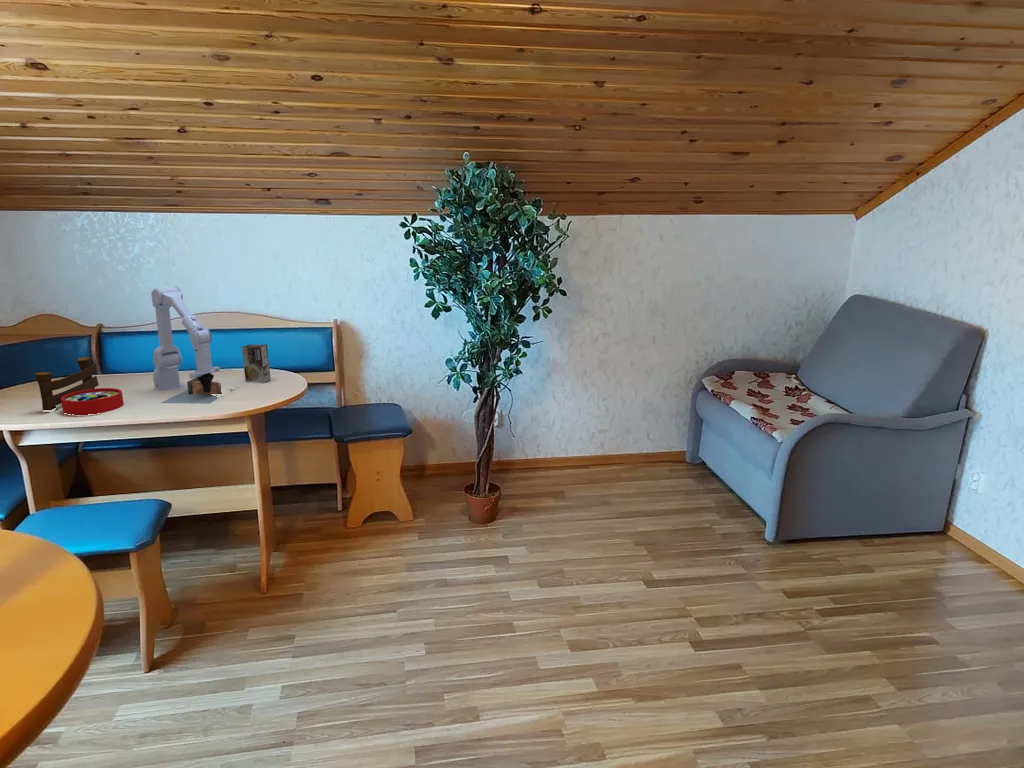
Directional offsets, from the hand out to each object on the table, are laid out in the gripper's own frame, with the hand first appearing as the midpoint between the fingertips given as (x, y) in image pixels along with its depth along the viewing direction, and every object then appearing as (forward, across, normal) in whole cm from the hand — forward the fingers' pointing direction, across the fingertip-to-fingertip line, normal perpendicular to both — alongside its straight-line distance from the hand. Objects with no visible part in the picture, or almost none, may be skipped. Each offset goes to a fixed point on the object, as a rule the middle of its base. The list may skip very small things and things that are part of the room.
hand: (207, 392), depth 277 cm
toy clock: (+2, -28, +29) cm, 40 cm away
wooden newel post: (+1, +2, +2) cm, 3 cm away
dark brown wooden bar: (+1, +5, +10) cm, 12 cm away
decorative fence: (+2, -23, +47) cm, 53 cm away
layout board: (+2, +1, +4) cm, 4 cm away
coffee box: (+2, +28, -2) cm, 28 cm away
